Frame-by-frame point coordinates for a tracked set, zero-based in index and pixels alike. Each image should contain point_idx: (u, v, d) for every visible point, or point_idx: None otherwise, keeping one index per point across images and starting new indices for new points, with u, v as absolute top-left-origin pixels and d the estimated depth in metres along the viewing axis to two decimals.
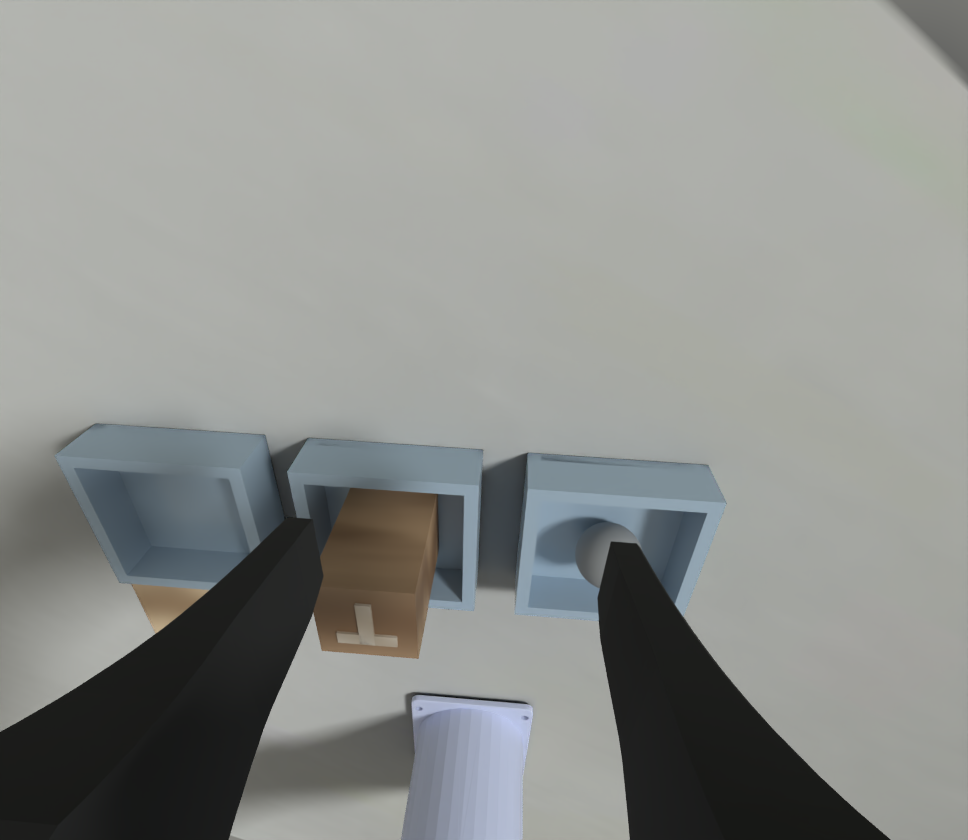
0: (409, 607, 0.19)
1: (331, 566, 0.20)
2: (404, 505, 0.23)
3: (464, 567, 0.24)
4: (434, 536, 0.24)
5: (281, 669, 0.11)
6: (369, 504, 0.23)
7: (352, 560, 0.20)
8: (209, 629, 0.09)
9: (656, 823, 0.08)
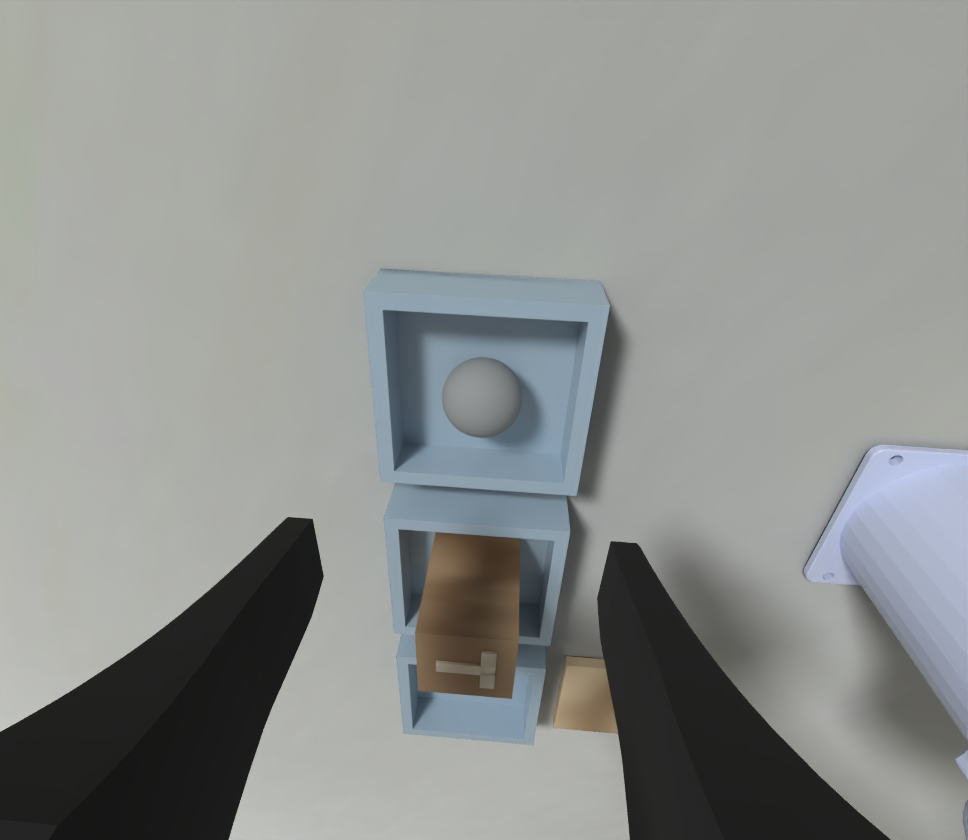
0: (435, 638, 0.20)
1: None
2: None
3: (497, 535, 0.22)
4: (472, 545, 0.24)
5: (281, 669, 0.11)
6: None
7: None
8: (209, 630, 0.09)
9: (656, 824, 0.08)
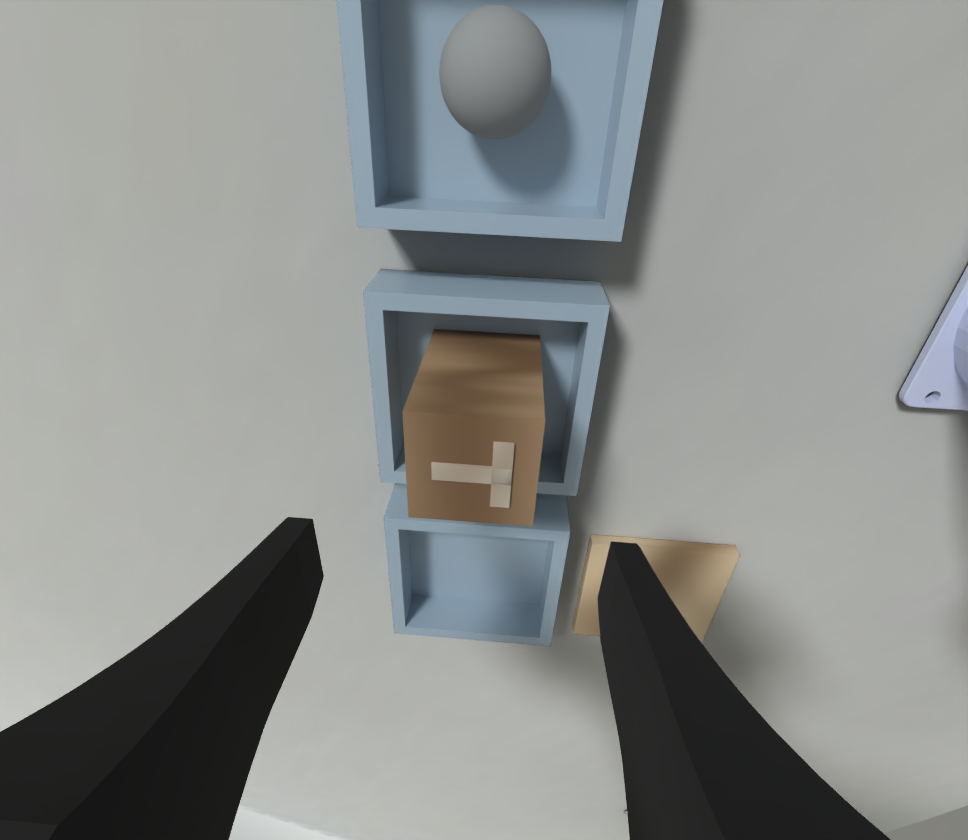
0: (430, 420, 0.15)
1: None
2: None
3: (513, 315, 0.17)
4: (479, 346, 0.18)
5: (281, 669, 0.11)
6: None
7: None
8: (209, 629, 0.09)
9: (656, 824, 0.08)
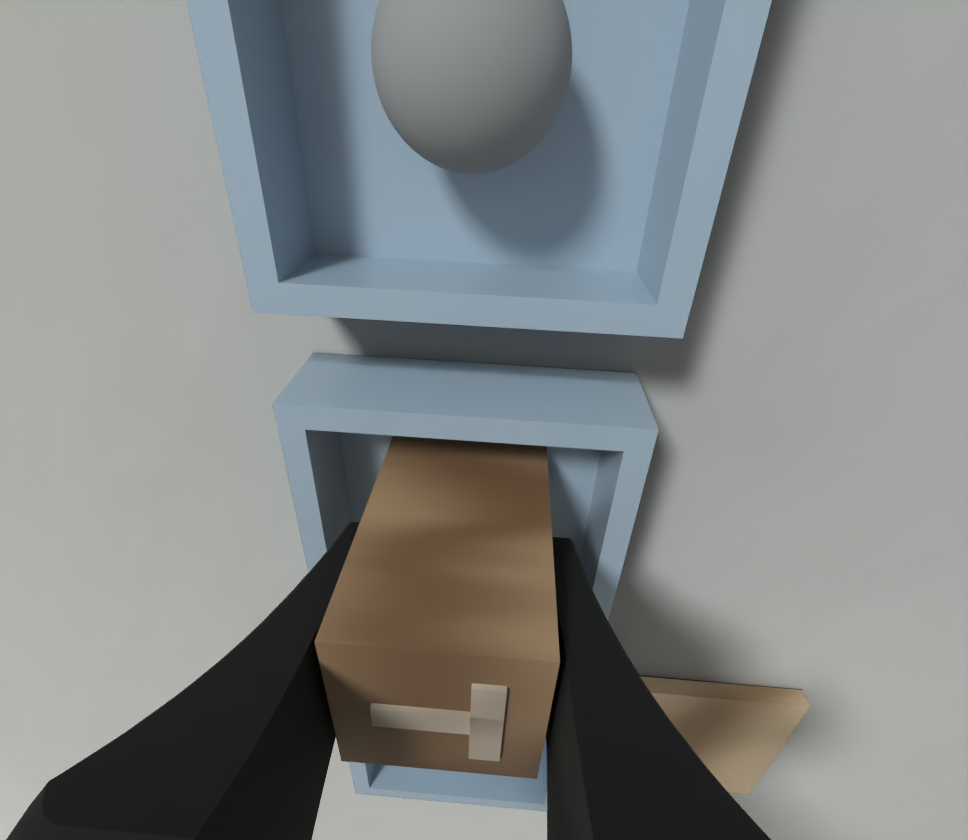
0: (362, 653, 0.09)
1: None
2: None
3: (506, 440, 0.11)
4: (456, 471, 0.12)
5: None
6: None
7: None
8: (296, 637, 0.09)
9: (559, 814, 0.08)
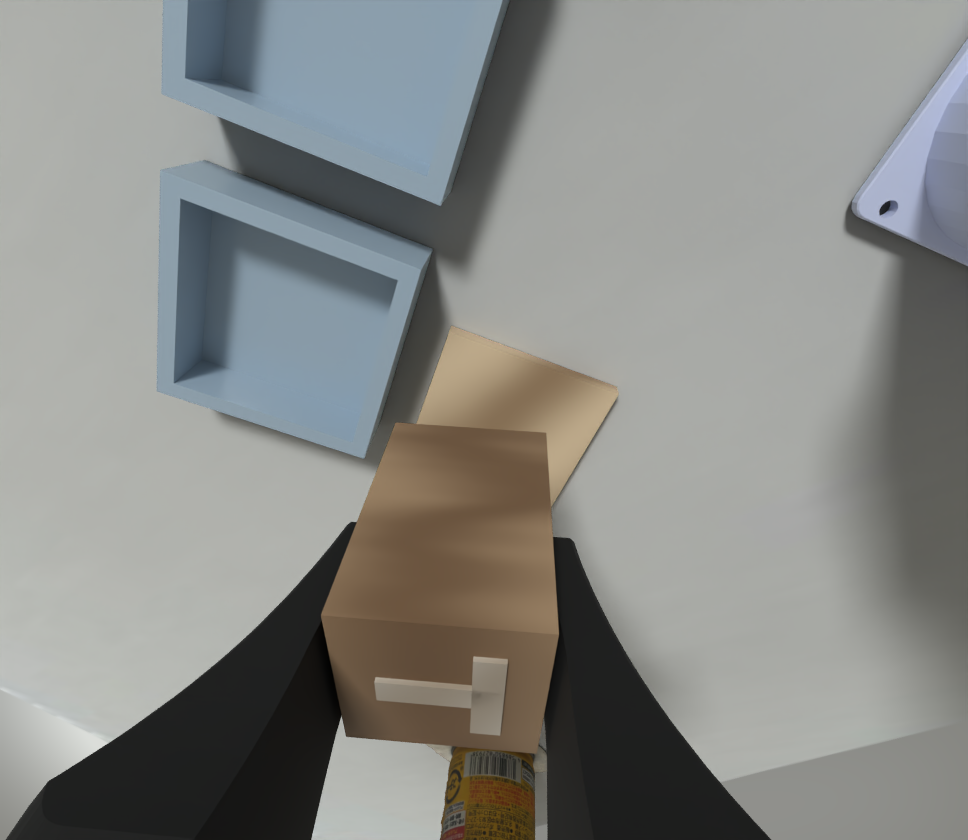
0: (367, 627, 0.09)
1: None
2: None
3: None
4: (457, 456, 0.13)
5: None
6: None
7: None
8: (297, 637, 0.09)
9: (560, 814, 0.08)
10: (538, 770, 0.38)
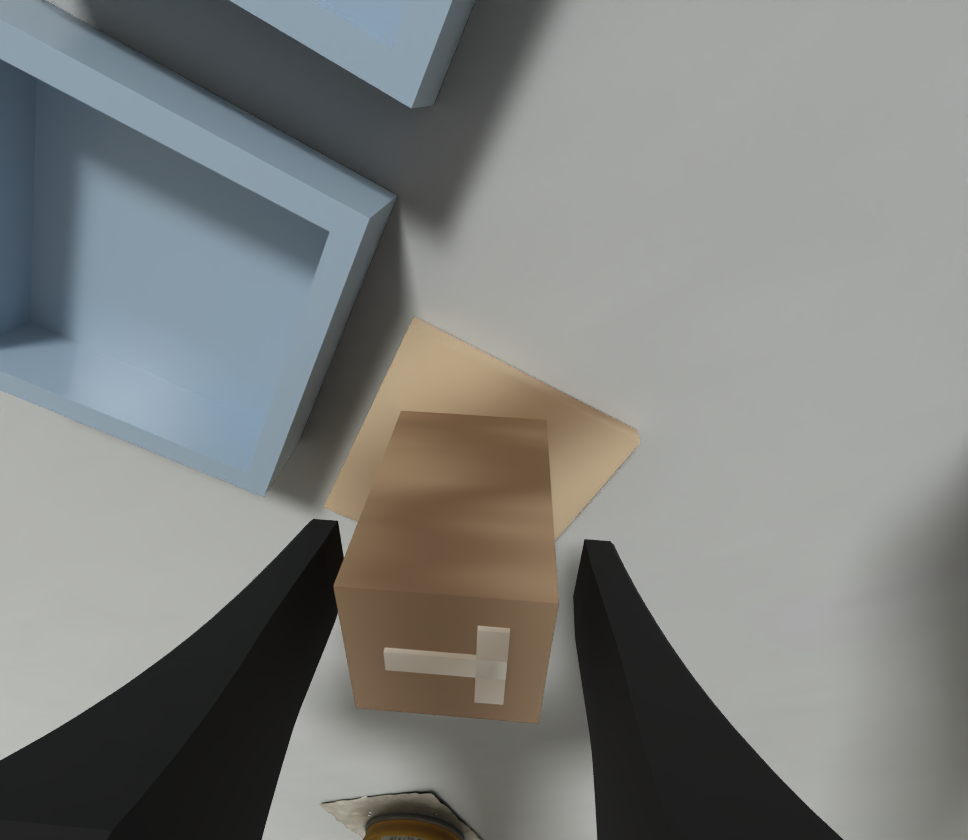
0: (377, 597, 0.09)
1: None
2: None
3: None
4: (461, 441, 0.13)
5: (308, 671, 0.11)
6: None
7: None
8: (244, 633, 0.09)
9: (618, 819, 0.08)
10: None
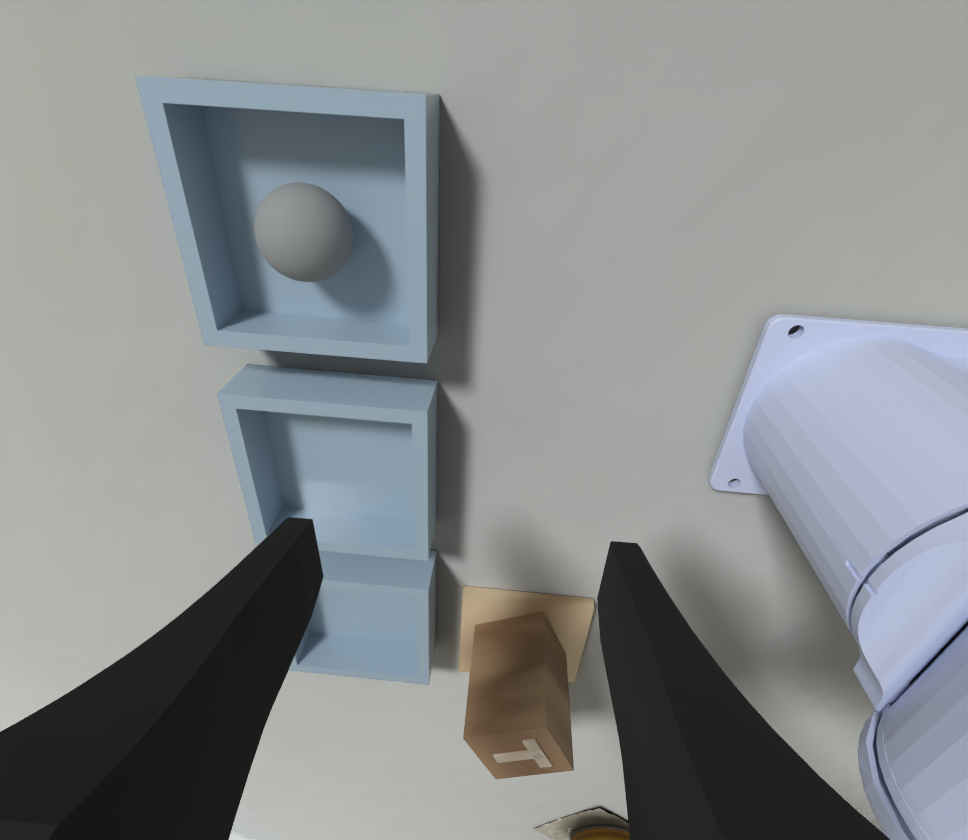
0: (480, 738, 0.24)
1: None
2: None
3: (347, 416, 0.20)
4: (504, 640, 0.27)
5: (281, 669, 0.11)
6: None
7: None
8: (209, 630, 0.09)
9: (656, 824, 0.08)
10: None
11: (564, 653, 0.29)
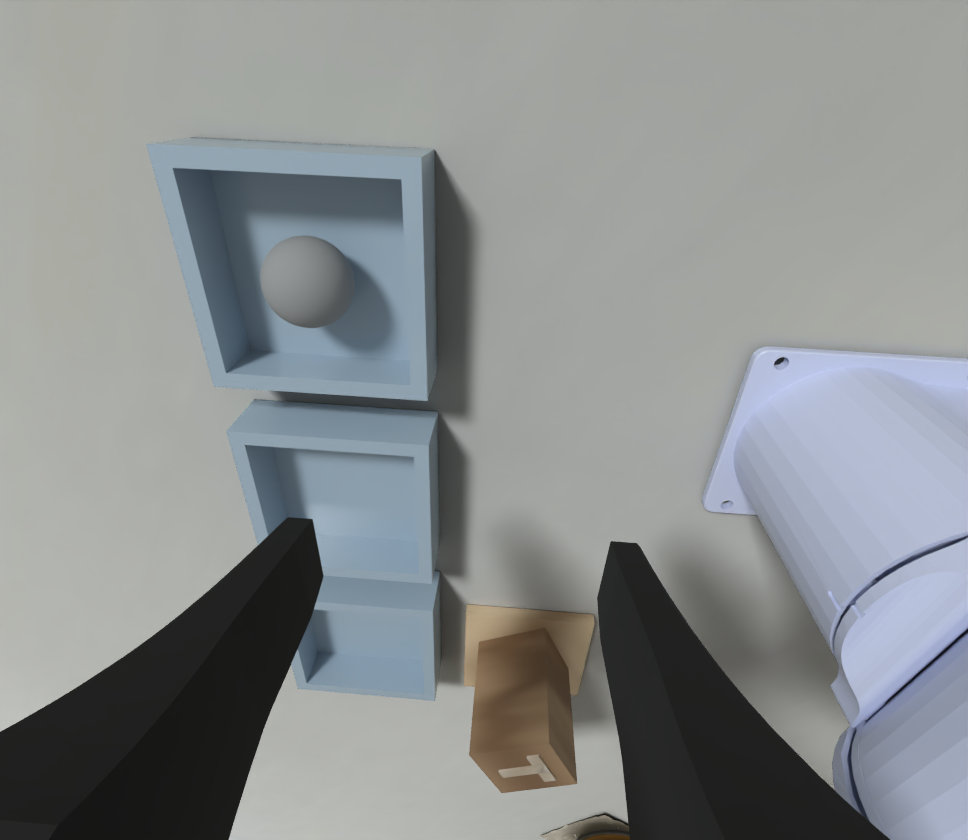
0: (486, 755, 0.24)
1: None
2: None
3: (351, 450, 0.20)
4: (507, 656, 0.28)
5: (281, 669, 0.11)
6: None
7: None
8: (209, 630, 0.09)
9: (656, 824, 0.08)
10: None
11: (566, 667, 0.30)
